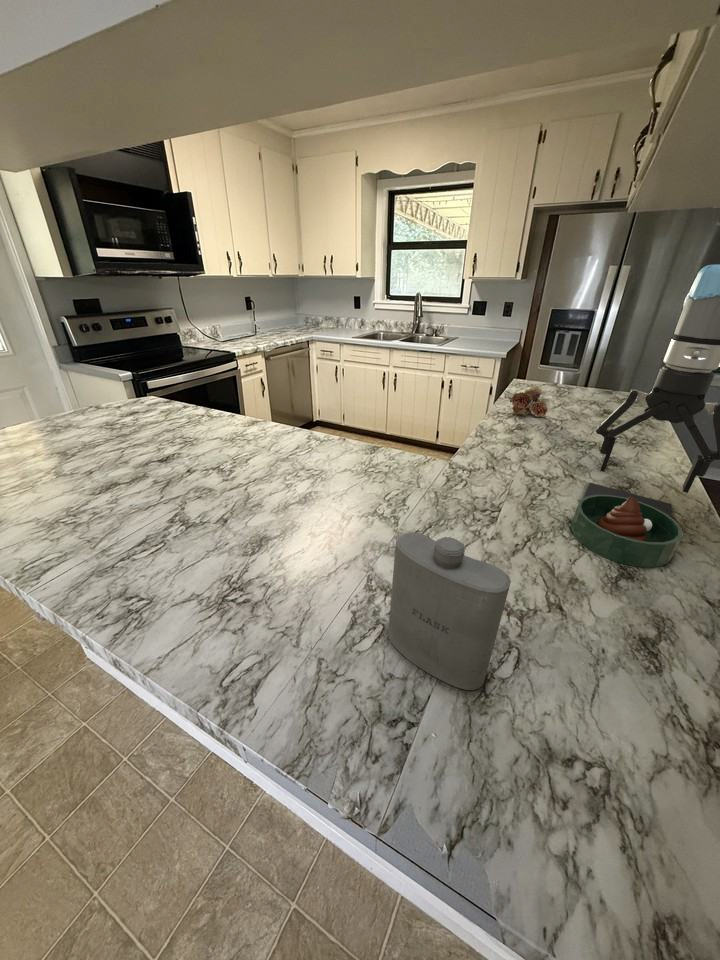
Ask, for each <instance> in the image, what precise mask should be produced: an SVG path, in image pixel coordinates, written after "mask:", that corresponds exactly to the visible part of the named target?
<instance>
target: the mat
mask: <svg viewBox="0 0 720 960" xmlns="http://www.w3.org/2000/svg"><path fill="white" fill-rule="evenodd" d="M592 495H613V496H620V497H625V498H628V497H633V498H635V499H636V500H637V501H639V502H642V503H645V504H647V505H650V506H652V507H654V508H656V509H658V510H660V511H662V512H664V513H666V514H667V515H668V516H670V517H671V518H672V503H669V502H665V501H661V500H658V499H653V498H650V497H646V496H643V495H639V494H635V493H631V492H628V491H623V490H619V489H615V488H612V487H608V486H606V485H605V486H604V485H600V484H597V483H594V482H589V483H588V485H587V487H586V490H585V493H584V495H583V497H582V499H583V498H584V497H586V496H592Z"/></svg>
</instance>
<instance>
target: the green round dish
mask: <svg viewBox="0 0 720 960" xmlns="http://www.w3.org/2000/svg"><path fill="white" fill-rule="evenodd" d="M583 497H584V496H583ZM583 497H582V498H581V499H579V500H578V503H577V505H576V508H575V512H574V515H573V517H572V520H571V524H570V531H571V533H572V535H573V537H574V538H575V539H576V540H577V541H578V543H580V544H581V545H582V546H583V547H584V548H586V549H588V550H589V551H591V552H592V553H594V554H596V555H598V556H600V557H603V558H604V559H606V560H609V561H612V562H615V563H618V564H621V565H626V566H630V567H635V568H636V567H637V568H646V569H647V568H658V567H662V566H665V565H667V564H668V563H669V562H670V561H671V559H673V557H674V555H675V553H676V551H677V550H678V547H679V545H680V543H681V541H682V539H683V537H684V535H683V528H682V527H681V526H680V525H679V523H678V522H677V520H675V519H674V518H672V516H671V517H670V516H668V515H667V514H666V513H664V512H662V511H660V510H658V509H656V508H654V507H652V506H650V505H647V504H645V503H642V502H639V501H638V503H639V506H640V512H641V513H642V517H643V518H644V519H649V520H650V521H651V522H652V528H651V529H650V530H649V531H647V532H646V537H647V541H646V542H645V541H639V540H634V539H630V538H626V537H623V536H620V535H617V534H614V533H612V532H610V531H608V530H606V529H603V528H601V527H600V526H598V525H597V522H598V520H599V519H600V518H602V517H604V516H605V515H606V514H607V513H608V512H611V510H612V509H614V507H616V506H620V505H622V504H623V503H624V502H625V501H626V500H627V499H628V498H625V497H620V496H613V495H592V496H586V497H584V498H583Z"/></svg>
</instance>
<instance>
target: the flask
mask: <svg viewBox="0 0 720 960" xmlns="http://www.w3.org/2000/svg"><path fill="white" fill-rule="evenodd" d="M394 547H395V548H394V559H393V571H392V584H391V595H390V607H389V617H388V630H387V637H388V639H389V642H390V643H391V645H392V646H393V647H394V648H395V649H396V650H397V651H398V652H399V653H400V654H401V655H403V657H405V658H406V659H407V660H408V661H410V662H411V663H412V664H414V665H415V666H416V667H418V668H419V669H421V670H423V672H426V673H427V674H429V675H431V676H433V677H434V678H436V679H437V680H440V681H442V682H444V683H446V684H448V685H450V686H453V687H455V688H458V689H462V690H465V691H474V690H478V689H480V688H481V687H482V686H483V685H484V683H485V680H486V676H487V672H488V670H489V669H488V668H489V665H490V661H491V657H492V653H493V650H494V646H495V644H496V643H495V642H496V639H497V635H498V631H499V628H500V624H501V620H502V616H503V613H504V609H505V605H506V602H507V598H508V595H509V591H510V587H511V584H512V581H511V577H510V575H508V573H507V572H506V571H505V570H503V569H502V568H500V567H498V566H496V565H494V564H492V563H488V562H485V561H482V560H479V559H475V558H473V557H470V556H467V555H465V552H466V551H465V550H466V548H465V545H464V544H463V543H462V541H460V540H458V539H456V538H454V537H448V536H447V537H441V538H438V539H437V540H435V539H433V538H431V537H429V536H428V535H426V534H424V533H421V532H416V531H415V532H413V531H411V532H410V531H409V532H405V533H402V534H401V535H398V536H397V538H396V539H395V546H394Z"/></svg>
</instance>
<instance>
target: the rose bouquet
mask: <svg viewBox="0 0 720 960" xmlns="http://www.w3.org/2000/svg"><path fill="white" fill-rule="evenodd" d="M541 395H542V390H541V388H539V387H537V386H532V387H530V388H528V389H525V391H524V392H522V391H521V392H518V393H514V394H513V395H512V396H511V397H509V398H508V400H509V402H510V403H511V404H512V408H511V409H512V411H513V414H514V415H519V416H520V415H525V414H526V413H529V414H531V415H533V416H534V417H537V418H539V417H540V418H541V417H543V418H546V416H547V413H548V406H547V403H546V402H544V401H543V400H541V399H540V397H541Z"/></svg>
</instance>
